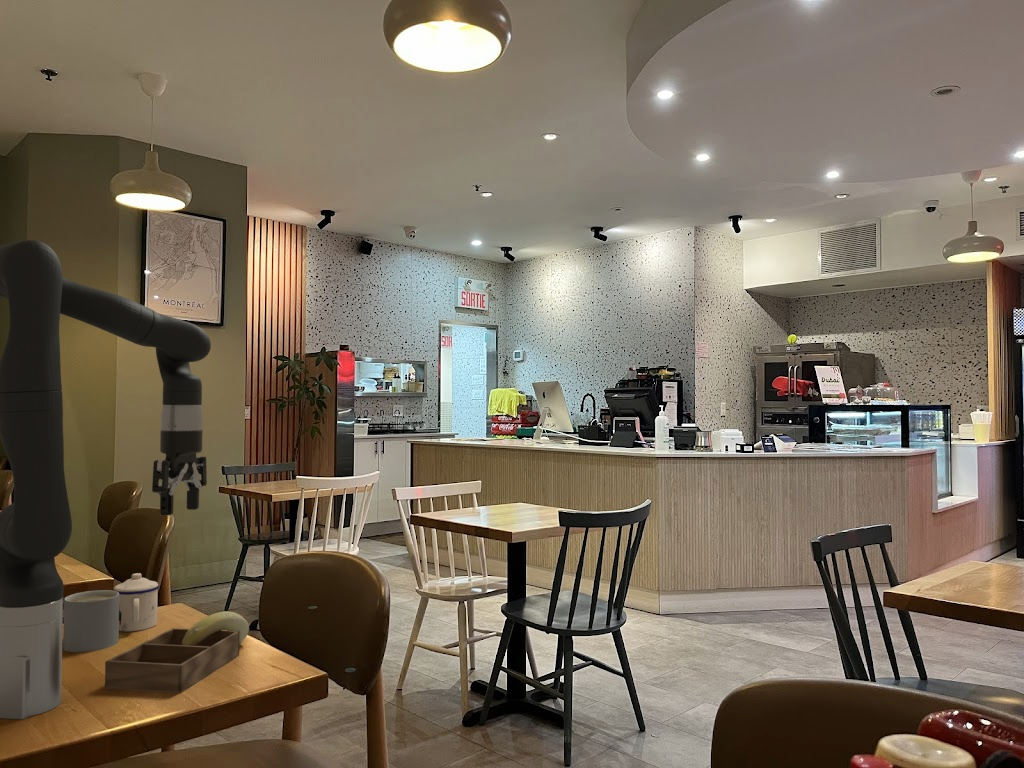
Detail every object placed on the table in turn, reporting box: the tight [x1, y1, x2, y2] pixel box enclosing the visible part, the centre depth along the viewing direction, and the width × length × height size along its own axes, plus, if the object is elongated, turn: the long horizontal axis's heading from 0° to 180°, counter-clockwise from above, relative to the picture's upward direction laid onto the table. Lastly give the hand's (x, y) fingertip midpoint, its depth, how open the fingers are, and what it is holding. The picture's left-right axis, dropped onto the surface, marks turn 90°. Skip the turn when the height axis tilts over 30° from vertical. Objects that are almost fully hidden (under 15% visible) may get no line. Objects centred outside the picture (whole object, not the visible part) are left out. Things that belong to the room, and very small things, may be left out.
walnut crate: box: [104, 628, 240, 694], centre depth 139 cm, size 20×14×5 cm
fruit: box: [182, 610, 250, 646], centre depth 149 cm, size 7×15×3 cm
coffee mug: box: [62, 589, 120, 653], centre depth 157 cm, size 13×10×10 cm
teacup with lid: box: [112, 572, 160, 633], centre depth 167 cm, size 12×9×12 cm
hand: (180, 512), depth 146 cm, fingers open, 8 cm apart
